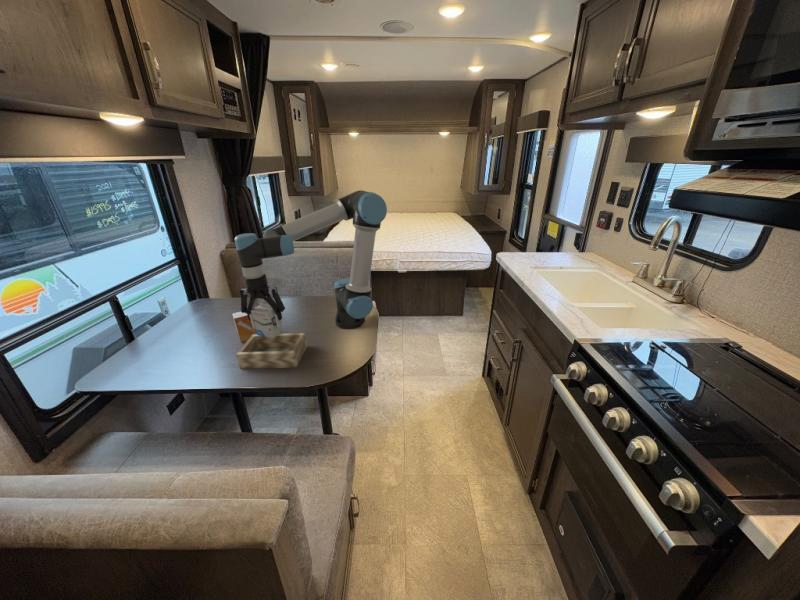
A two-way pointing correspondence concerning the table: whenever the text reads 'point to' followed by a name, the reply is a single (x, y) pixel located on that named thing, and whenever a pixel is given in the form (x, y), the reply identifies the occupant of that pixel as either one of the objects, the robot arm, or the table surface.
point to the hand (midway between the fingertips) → (267, 326)
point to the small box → (243, 326)
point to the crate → (272, 351)
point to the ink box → (265, 320)
